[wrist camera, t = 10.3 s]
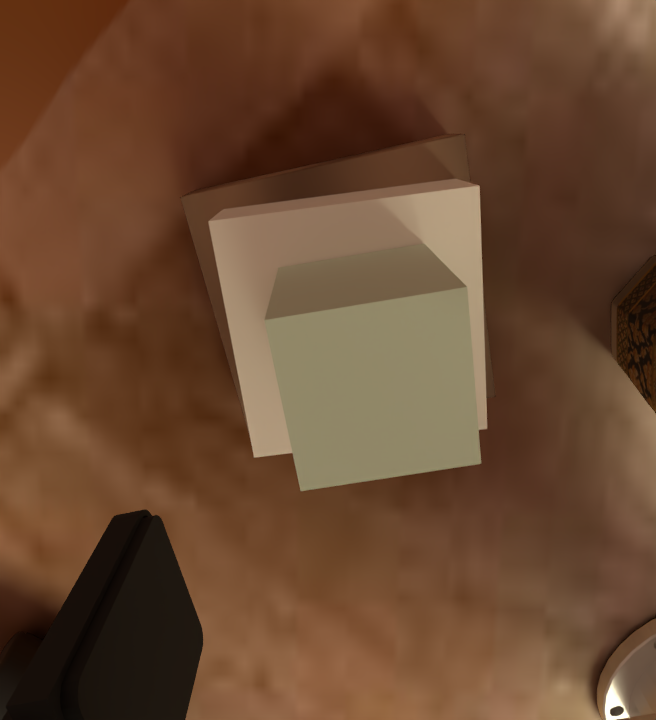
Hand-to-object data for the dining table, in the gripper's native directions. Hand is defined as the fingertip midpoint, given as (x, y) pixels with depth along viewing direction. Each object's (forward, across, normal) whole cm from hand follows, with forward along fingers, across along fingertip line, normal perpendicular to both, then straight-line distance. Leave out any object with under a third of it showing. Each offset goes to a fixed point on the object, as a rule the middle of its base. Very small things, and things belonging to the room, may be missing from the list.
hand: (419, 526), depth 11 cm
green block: (+11, 0, -1) cm, 11 cm away
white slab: (+15, 0, 0) cm, 15 cm away
